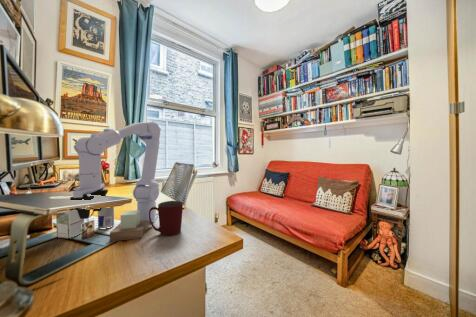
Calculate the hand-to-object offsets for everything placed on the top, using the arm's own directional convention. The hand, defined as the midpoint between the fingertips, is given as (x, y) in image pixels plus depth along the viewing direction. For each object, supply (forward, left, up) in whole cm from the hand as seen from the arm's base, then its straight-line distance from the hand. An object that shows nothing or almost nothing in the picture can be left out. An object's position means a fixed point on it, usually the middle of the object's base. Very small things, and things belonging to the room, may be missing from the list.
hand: (91, 214), depth 62 cm
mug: (-4, +23, -10) cm, 25 cm away
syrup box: (-9, -11, -10) cm, 17 cm away
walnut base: (-6, +10, -10) cm, 15 cm away
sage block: (-6, +10, -7) cm, 14 cm away
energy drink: (-15, -2, -10) cm, 18 cm away
